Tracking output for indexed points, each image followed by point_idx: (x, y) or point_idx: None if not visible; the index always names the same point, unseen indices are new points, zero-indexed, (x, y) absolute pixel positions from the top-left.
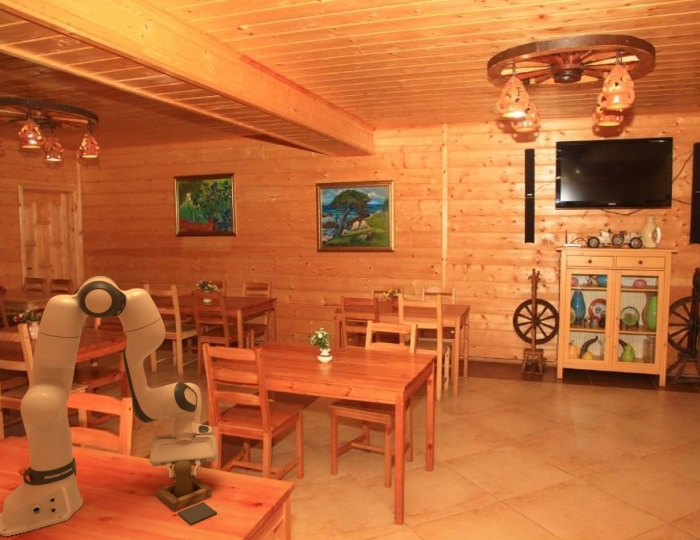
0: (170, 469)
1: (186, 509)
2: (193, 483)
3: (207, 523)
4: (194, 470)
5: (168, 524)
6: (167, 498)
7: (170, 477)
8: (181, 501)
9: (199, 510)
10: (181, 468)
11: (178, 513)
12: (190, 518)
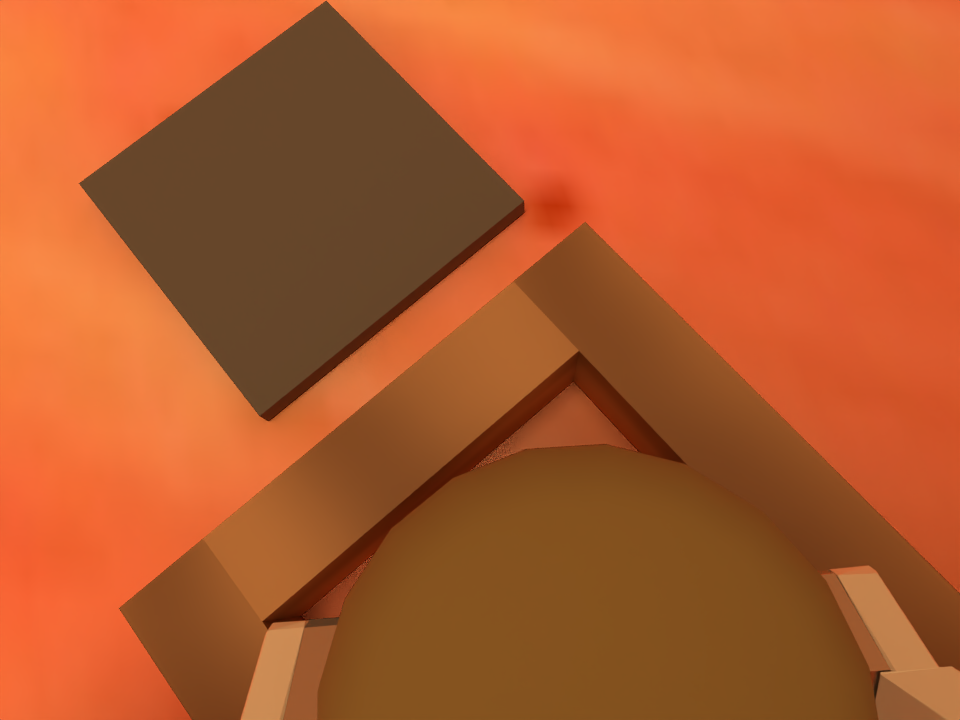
0: (952, 714)
1: (433, 255)
2: None
3: (175, 46)
4: (275, 697)
5: (569, 42)
6: (733, 373)
7: (838, 570)
8: (504, 295)
9: (275, 226)
10: (548, 453)
11: (510, 189)
12: (347, 80)
